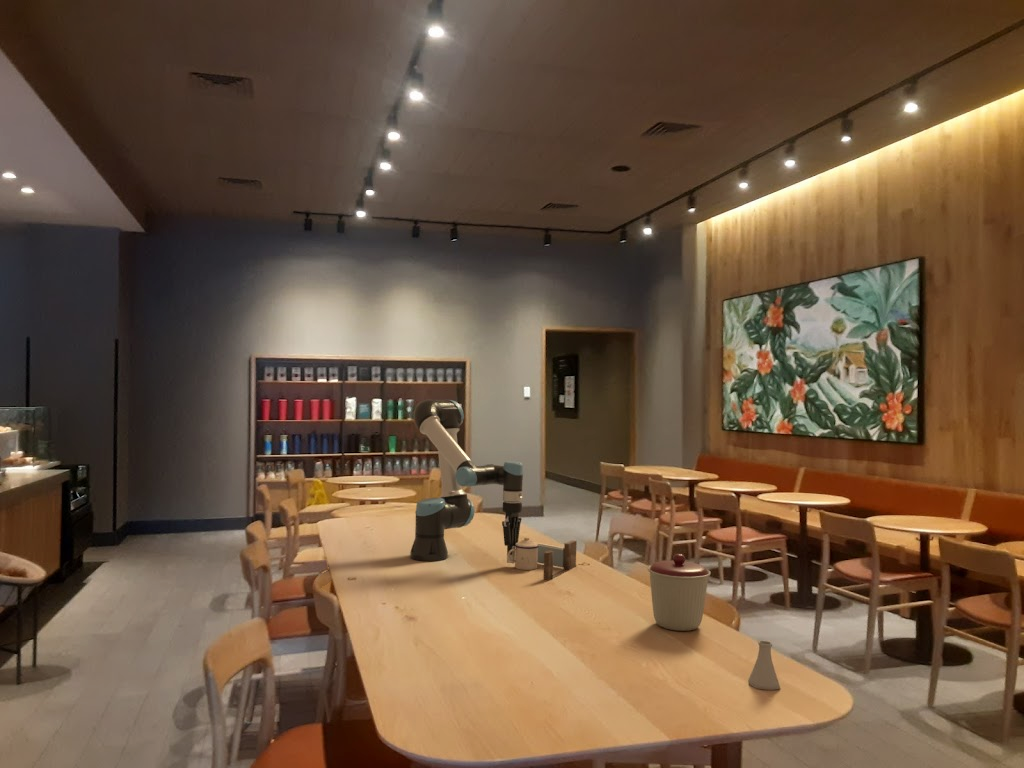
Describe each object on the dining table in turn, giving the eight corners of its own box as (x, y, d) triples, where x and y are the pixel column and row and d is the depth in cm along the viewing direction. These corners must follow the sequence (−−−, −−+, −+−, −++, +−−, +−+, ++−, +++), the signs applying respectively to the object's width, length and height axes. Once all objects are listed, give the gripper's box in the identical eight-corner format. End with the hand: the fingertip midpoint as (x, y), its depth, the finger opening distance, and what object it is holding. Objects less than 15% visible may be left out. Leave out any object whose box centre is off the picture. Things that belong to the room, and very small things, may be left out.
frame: (542, 580, 275) (543, 552, 276) (570, 565, 300) (571, 540, 300) (549, 580, 274) (549, 553, 274) (576, 566, 299) (577, 541, 299)
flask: (743, 679, 182) (744, 637, 182) (772, 679, 182) (773, 637, 183) (755, 691, 175) (756, 647, 175) (785, 691, 175) (786, 647, 175)
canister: (673, 639, 211) (675, 562, 212) (633, 621, 227) (635, 550, 228) (722, 631, 220) (724, 558, 220) (681, 614, 236) (683, 546, 236)
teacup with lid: (533, 564, 300) (534, 535, 300) (541, 569, 292) (541, 539, 292) (504, 565, 297) (505, 535, 297) (511, 571, 288) (511, 540, 288)
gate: (564, 567, 295) (565, 547, 295) (562, 567, 294) (563, 548, 294) (536, 561, 304) (536, 542, 304) (534, 561, 303) (534, 542, 303)
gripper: (513, 504, 289) (512, 566, 288) (528, 500, 301) (526, 560, 300) (496, 502, 292) (494, 564, 292) (511, 499, 304) (509, 558, 303)
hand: (510, 562), depth 296 cm, fingers closed
